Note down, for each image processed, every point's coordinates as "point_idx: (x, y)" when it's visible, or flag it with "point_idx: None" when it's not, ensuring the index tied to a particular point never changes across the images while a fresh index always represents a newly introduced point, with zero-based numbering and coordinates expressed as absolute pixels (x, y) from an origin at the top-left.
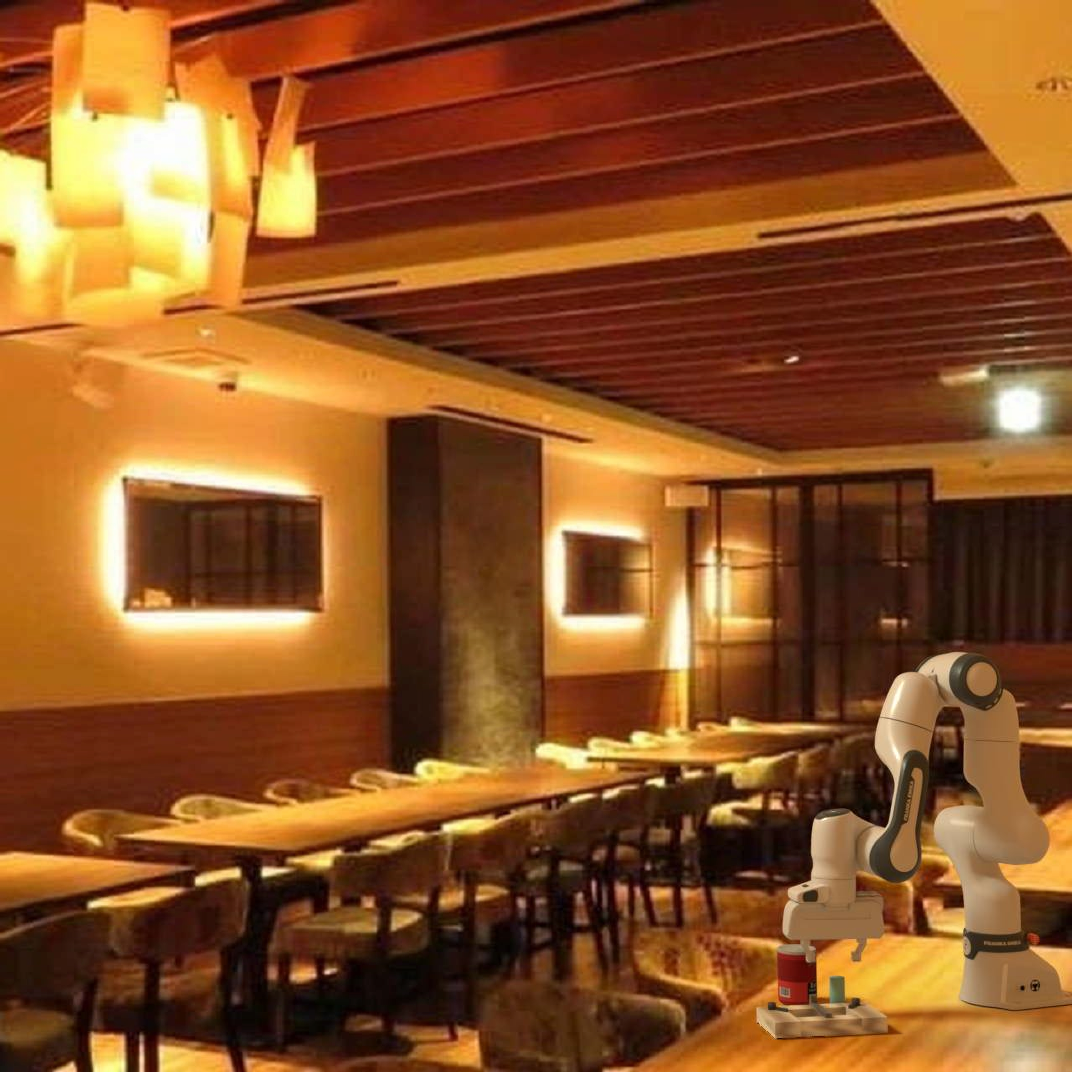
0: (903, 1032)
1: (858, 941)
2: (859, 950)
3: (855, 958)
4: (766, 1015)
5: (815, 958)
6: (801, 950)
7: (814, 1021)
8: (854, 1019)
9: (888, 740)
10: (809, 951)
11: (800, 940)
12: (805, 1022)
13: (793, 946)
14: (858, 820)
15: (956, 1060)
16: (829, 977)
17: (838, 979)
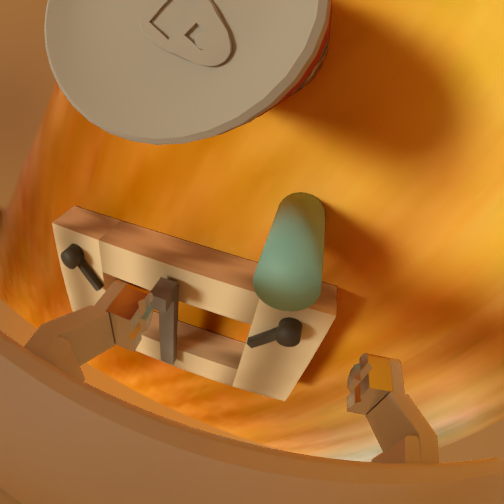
0: (320, 382)
1: (386, 458)
2: (372, 426)
3: (352, 390)
4: (65, 283)
5: (280, 102)
6: (168, 49)
7: (139, 350)
8: (217, 379)
9: None
10: (98, 349)
11: (32, 339)
12: None
13: None
14: None
15: (284, 446)
16: (254, 273)
17: (274, 306)
